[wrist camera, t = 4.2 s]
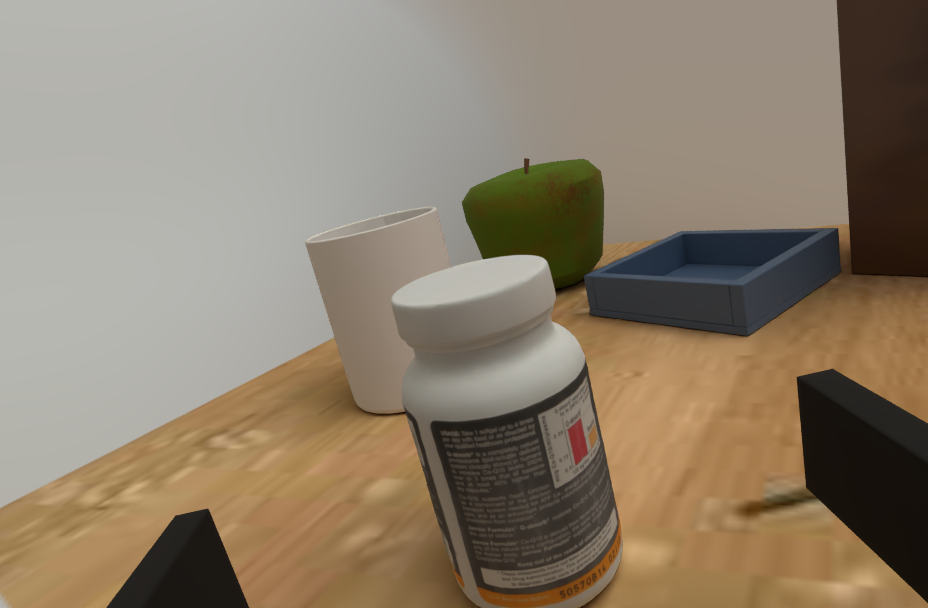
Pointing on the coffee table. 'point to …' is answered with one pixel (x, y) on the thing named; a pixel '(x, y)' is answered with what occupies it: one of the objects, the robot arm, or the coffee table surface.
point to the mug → (375, 295)
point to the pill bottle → (508, 435)
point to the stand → (886, 133)
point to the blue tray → (716, 278)
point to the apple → (542, 216)
